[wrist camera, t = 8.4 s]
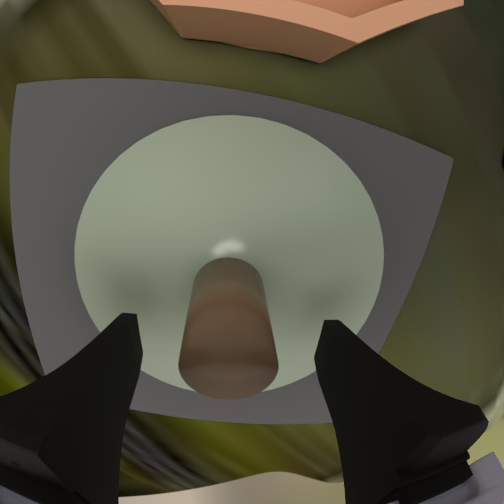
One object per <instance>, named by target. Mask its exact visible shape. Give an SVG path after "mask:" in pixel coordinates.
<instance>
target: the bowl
mask: <svg viewBox="0 0 504 504" xmlns="http://www.w3.org/2000/svg"><path fill="white" fill-rule="evenodd" d="M149 1H150V2H151V3H152V4H154V6H155V7H156V8H157V9H158V10H159V11H160V13H161V14H162V15H163V16H164V17H165V18H166V20H167V21H168V22H169V23H170V24H171V26H172V27H173V28H174V29H175V30H176V32H177V33H178V34H179V35H180V37H181V38H190V39H200V40H209V41H217V42H222V43H225V44H228V45H232V46H237V47H241V48H246V49H250V50H256V51H263V52H270V53H282V54H287V55H291V56H295V57H298V58H302V59H306V60H310V61H313V62H317V63H320V64H321V63H322V62H324V61H326V60H328V59H330V58H332V57H334V56H336V55H338V54H340V53H343V52H345V51H347V50H349V49H351V48H353V47H355V46H357V45H360V44H362V43H364V42H367V41H369V40H371V39H373V38H375V37H378V36H380V35H383V34H385V33H387V32H390V31H392V30H395V29H397V28H400V27H403V26H405V25H408V24H411V23H413V22H416V21H418V20H421V19H424V18H426V17H429V16H432V15H435V14H438V13H441V12H444V11H447V10H450V9H453V8H456V7H459V6H462V5H464V1H463V0H149Z"/></svg>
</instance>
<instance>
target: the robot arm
mask: <svg viewBox="0 0 504 504" xmlns="http://www.w3.org/2000/svg"><path fill="white" fill-rule="evenodd" d="M142 358H143V349H142V343H141V337H140V331H139V325H138V319H137V314H134V313H121V314H120V315H119V316H118V317H117V318H115V319H114V320H113V321H112V322H111V323H110V324H109V325H108V326H107V327H106V328H105V329H104V330H103V331H102V332H101V333H100V334H99V335H97V336H96V337H95V338H94V339H93V340H92V341H91V342H90V343H89V344H88V345H86V346H85V347H84V348H83V349H82V350H80V351H79V352H78V353H77V354H76V355H74V356H73V357H72V358H71V359H69V360H68V361H67V362H65V363H64V364H62V365H61V366H60V367H58V368H57V369H55V370H54V371H52V372H50V373H49V374H47V375H45V376H44V377H42V378H40V379H38V380H37V381H35V382H33V383H31V384H29V385H27V386H25V387H23V388H21V389H18V390H16V391H14V392H11V393H9V394H6V395H3V396H0V504H118V488H119V468H120V458H121V448H122V441H123V434H124V428H125V423H126V419H127V416H128V412H129V409H130V405H131V402H132V399H133V395H134V392H135V389H136V385H137V382H138V379H139V375H140V370H141V364H142ZM314 361H315V367H316V372H317V377H318V381H319V384H320V387H321V390H322V393H323V395H324V398H325V401H326V404H327V407H328V410H329V413H330V416H331V419H332V421H333V425H334V428H335V432H336V437H337V442H338V447H339V452H340V458H341V464H342V470H343V479H344V487H345V500H346V504H504V469H503V468H502V466H501V464H500V462H499V460H498V459H497V457H496V455H495V453H494V452H491V453H489V454H488V455H486V456H484V457H482V458H480V459H479V460H477V461H475V462H474V463H472V464H471V465H468V463H467V461H466V460H468V459H469V458H470V455H469V453H468V451H467V450H468V449H469V448H470V447H471V446H472V445H473V444H474V443H475V442H476V441H477V440H478V439H479V438H480V436H481V435H482V434H483V433H484V432H485V430H486V428H487V426H488V422H489V421H488V420H487V418H486V417H485V415H484V413H483V412H482V410H481V409H480V407H479V406H478V405H475V404H471V403H468V402H465V401H461V400H458V399H455V398H452V397H450V396H447V395H445V394H442V393H440V392H438V391H435V390H433V389H431V388H429V387H427V386H425V385H423V384H422V383H420V382H418V381H416V380H414V379H413V378H411V377H409V376H408V375H406V374H405V373H403V372H402V371H400V370H399V369H397V368H396V367H394V366H393V365H392V364H390V363H389V362H388V361H386V360H385V359H384V358H382V357H381V356H380V355H379V354H377V353H376V352H375V351H374V350H373V349H371V348H370V347H369V346H368V345H367V344H366V343H365V342H363V341H362V340H361V339H360V338H359V337H358V336H357V335H356V334H354V333H353V332H352V331H351V330H350V329H349V328H348V327H347V326H346V325H344V324H343V323H342V322H341V321H340V320H324V322H323V326H322V330H321V334H320V337H319V341H318V345H317V348H316V352H315V355H314Z"/></svg>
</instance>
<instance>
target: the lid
mask: <svg viewBox="0 0 504 504" xmlns="http://www.w3.org/2000/svg"><path fill="white" fill-rule="evenodd" d="M383 264H384V247H383V236H382V231H381V227H380V223H379V219H378V215H377V213H376V210H375V208H374V205H373V203H372V200H371V198H370V196H369V195H368V193H367V191H366V190H365V188H364V186H363V185H362V183H361V181H360V180H359V179H358V177H357V176H356V175H355V174H354V172H353V171H352V170H351V169H350V168H349V166H348V165H347V164H346V163H345V162H344V161H343V160H342V159H341V158H339V157H338V156H337V155H336V154H335V153H334V152H333V151H331V150H330V149H329V148H328V147H326V146H325V145H323V144H322V143H320V142H319V141H317V140H316V139H314V138H312V137H311V136H309V135H307V134H305V133H303V132H301V131H299V130H296V129H294V128H292V127H290V126H287V125H285V124H281V123H278V122H274V121H270V120H267V119H263V118H257V117H249V116H240V115H220V116H206V117H201V118H195V119H190V120H185V121H182V122H179V123H176V124H173V125H170V126H168V127H165V128H162V129H160V130H158V131H156V132H154V133H152V134H150V135H148V136H147V137H145V138H143V139H141V140H139V141H138V142H136V143H135V144H134V145H132V146H131V147H130V148H129V149H127V150H126V151H125V152H123V153H122V154H121V155H120V156H119V157H118V158H117V159H116V160H115V161H114V162H113V163H112V164H111V165H110V166H109V167H108V168H107V169H106V170H105V171H104V173H103V174H102V176H101V177H100V178H99V180H98V181H97V183H96V184H95V186H94V187H93V189H92V190H91V192H90V194H89V196H88V199H87V201H86V203H85V205H84V207H83V210H82V213H81V216H80V219H79V223H78V226H77V232H76V239H75V270H76V277H77V283H78V286H79V290H80V293H81V296H82V300H83V302H84V304H85V306H86V309H87V311H88V313H89V315H90V317H91V319H92V320H93V322H94V324H95V325H96V327H97V328H98V330H99V331H100V332H102V331H103V330H104V329H105V328H106V327H107V326H108V325H109V324H110V323H111V322H112V321H113V320H114V319H115V318H117V317H118V316H119V315H120V314H121V313H134V314H137V319H138V325H139V331H140V337H141V343H142V349H143V358H142V364H141V370H142V371H144V372H145V373H147V374H149V375H151V376H153V377H155V378H157V379H159V380H161V381H163V382H166V383H168V384H171V385H174V386H176V387H179V388H183V389H187V390H191V391H195V392H198V393H200V394H202V395H205V396H208V397H211V398H215V399H222V400H236V399H243V398H247V397H250V396H253V395H256V394H258V393H260V392H263V391H267V390H272V389H276V388H279V387H282V386H285V385H288V384H291V383H293V382H295V381H297V380H300V379H302V378H304V377H306V376H308V375H310V374H311V373H313V372H315V371H316V367H315V361H314V355H315V352H316V348H317V345H318V341H319V337H320V334H321V330H322V326H323V322H324V320H340V321H341V322H342V323H343V324H344V325H346V326H347V327H348V328H349V329H350V330H351V331H352V332H353V333H354V334H356V335H357V333H358V332H359V330H360V329H361V327H362V326H363V324H364V323H365V321H366V320H367V318H368V316H369V314H370V312H371V310H372V308H373V306H374V303H375V300H376V298H377V295H378V292H379V289H380V284H381V279H382V274H383Z"/></svg>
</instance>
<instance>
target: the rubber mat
mask: <svg viewBox="0 0 504 504" xmlns="http://www.w3.org/2000/svg"><path fill="white" fill-rule="evenodd" d="M220 115H240V116H249V117H257V118H263V119H267V120H270V121H274V122H278V123H281V124H285V125H287V126H290V127H292V128H294V129H296V130H299V131H301V132H303V133H305V134H307V135H309V136H311V137H312V138H314V139H316V140H317V141H319V142H320V143H322V144H323V145H325V146H326V147H328V148H329V149H330V150H331V151H333V152H334V153H335V154H336V155H337V156H338V157H339V158H341V159H342V160H343V161H344V162H345V163H346V164H347V165H348V166H349V168H350V169H351V170H352V171H353V172H354V174H355V175H356V176H357V177H358V179H359V180H360V181H361V183H362V185H363V186H364V188H365V190H366V191H367V193H368V195H369V196H370V198H371V200H372V203H373V205H374V208H375V210H376V213H377V215H378V219H379V223H380V227H381V231H382V236H383V247H384V264H383V274H382V279H381V284H380V289H379V292H378V295H377V298H376V300H375V303H374V306H373V308H372V310H371V312H370V314H369V316H368V318H367V320H366V321H365V323H364V324H363V326H362V327H361V329H360V330H359V332H358V333H357V336H358V337H359V338H360V339H361V340H362V341H363V342H365V343H366V344H367V345H368V346H369V347H370V348H371V349H373V350H374V351H375V352H376V353H377V354H378V353H379V351H380V349H381V347H382V345H383V344H384V342H385V340H386V338H387V336H388V334H389V332H390V330H391V328H392V326H393V324H394V322H395V320H396V318H397V316H398V314H399V312H400V310H401V307H402V305H403V303H404V301H405V299H406V296H407V294H408V292H409V290H410V287H411V285H412V283H413V280H414V278H415V276H416V273H417V271H418V268H419V266H420V263H421V261H422V258H423V256H424V253H425V251H426V248H427V245H428V243H429V240H430V237H431V234H432V231H433V228H434V226H435V223H436V220H437V217H438V214H439V210H440V207H441V204H442V201H443V197H444V194H445V191H446V187H447V184H448V180H449V176H450V172H451V169H452V165H453V161H454V159H453V158H451V157H449V156H447V155H445V154H443V153H441V152H439V151H436V150H434V149H432V148H430V147H427V146H425V145H423V144H420V143H418V142H416V141H413V140H411V139H408V138H406V137H403V136H401V135H398V134H396V133H393V132H391V131H388V130H385V129H383V128H380V127H377V126H374V125H371V124H369V123H366V122H363V121H360V120H357V119H354V118H351V117H347V116H344V115H341V114H338V113H334V112H331V111H328V110H324V109H320V108H317V107H313V106H309V105H306V104H302V103H298V102H294V101H289V100H285V99H281V98H276V97H272V96H267V95H262V94H257V93H252V92H247V91H241V90H235V89H229V88H223V87H216V86H209V85H202V84H194V83H184V82H174V81H162V80H148V79H123V78H88V79H64V80H50V81H39V82H30V83H22V84H17V89H16V95H15V102H14V110H13V119H12V130H11V146H10V204H11V219H12V231H13V240H14V248H15V256H16V263H17V269H18V275H19V280H20V286H21V291H22V295H23V300H24V305H25V309H26V313H27V317H28V321H29V325H30V329H31V332H32V336H33V339H34V343H35V346H36V349H37V352H38V355H39V358H40V361H41V364H42V367H43V370H44V373H45V375H47V374H49V373H50V372H52V371H54V370H55V369H57V368H58V367H60V366H61V365H62V364H64V363H65V362H67V361H68V360H69V359H71V358H72V357H73V356H74V355H76V354H77V353H78V352H79V351H80V350H82V349H83V348H84V347H85V346H86V345H88V344H89V343H90V342H91V341H92V340H93V339H94V338H95V337H96V336H97V335H99V334H100V333H101V332H100V331H99V330H98V328H97V327H96V325H95V324H94V322H93V320H92V319H91V317H90V315H89V313H88V311H87V309H86V306H85V304H84V302H83V300H82V296H81V293H80V290H79V286H78V283H77V277H76V270H75V239H76V232H77V226H78V223H79V219H80V216H81V213H82V210H83V207H84V205H85V203H86V201H87V199H88V196H89V194H90V192H91V190H92V189H93V187H94V186H95V184H96V183H97V181H98V180H99V178H100V177H101V176H102V174H103V173H104V171H105V170H106V169H107V168H108V167H109V166H110V165H111V164H112V163H113V162H114V161H115V160H116V159H117V158H118V157H119V156H120V155H121V154H122V153H123V152H125V151H126V150H127V149H129V148H130V147H131V146H132V145H134V144H135V143H136V142H138V141H139V140H141V139H143V138H145V137H147V136H148V135H150V134H152V133H154V132H156V131H158V130H160V129H162V128H165V127H168V126H170V125H173V124H176V123H179V122H182V121H185V120H190V119H195V118H201V117H206V116H220ZM130 409H134V410H139V411H144V412H150V413H155V414H161V415H168V416H175V417H182V418H190V419H199V420H208V421H220V422H233V423H253V424H312V423H332V422H333V421H332V419H331V416H330V413H329V410H328V407H327V404H326V401H325V398H324V395H323V393H322V390H321V387H320V384H319V381H318V377H317V372H316V371H315V372H313V373H311V374H310V375H308V376H306V377H304V378H302V379H300V380H297V381H295V382H293V383H291V384H288V385H285V386H282V387H279V388H276V389H272V390H267V391H263V392H260V393H258V394H256V395H253V396H250V397H247V398H243V399H236V400H222V399H215V398H211V397H208V396H205V395H202V394H200V393H198V392H195V391H191V390H187V389H183V388H179V387H176V386H174V385H171V384H168V383H166V382H163V381H161V380H159V379H157V378H155V377H153V376H151V375H149V374H147V373H145V372H144V371H142V370H140V375H139V379H138V382H137V385H136V389H135V392H134V395H133V399H132V402H131V405H130Z"/></svg>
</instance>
